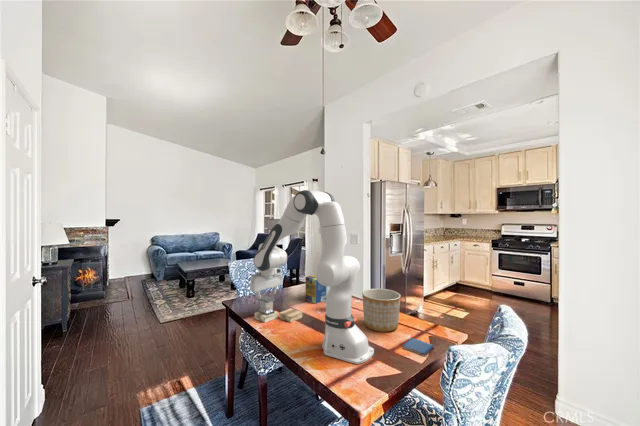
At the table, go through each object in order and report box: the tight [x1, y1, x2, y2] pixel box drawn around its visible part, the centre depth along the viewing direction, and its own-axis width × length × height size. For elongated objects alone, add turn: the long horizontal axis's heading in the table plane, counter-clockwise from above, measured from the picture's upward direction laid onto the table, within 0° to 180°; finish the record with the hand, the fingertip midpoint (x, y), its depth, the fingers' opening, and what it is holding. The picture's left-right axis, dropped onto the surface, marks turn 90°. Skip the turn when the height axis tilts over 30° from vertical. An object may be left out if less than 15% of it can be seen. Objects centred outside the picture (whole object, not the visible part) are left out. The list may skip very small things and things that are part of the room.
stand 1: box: [254, 310, 279, 323], centre depth 151 cm, size 9×9×3 cm
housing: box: [257, 295, 276, 316], centre depth 151 cm, size 8×5×8 cm, turn 50°
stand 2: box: [278, 307, 303, 323], centre depth 151 cm, size 9×9×3 cm
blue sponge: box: [401, 337, 435, 357], centre depth 118 cm, size 10×11×2 cm
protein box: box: [305, 274, 331, 305], centre depth 182 cm, size 10×15×16 cm
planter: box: [361, 288, 402, 333], centre depth 141 cm, size 19×19×16 cm
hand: (267, 296), depth 150 cm, fingers open, 8 cm apart
